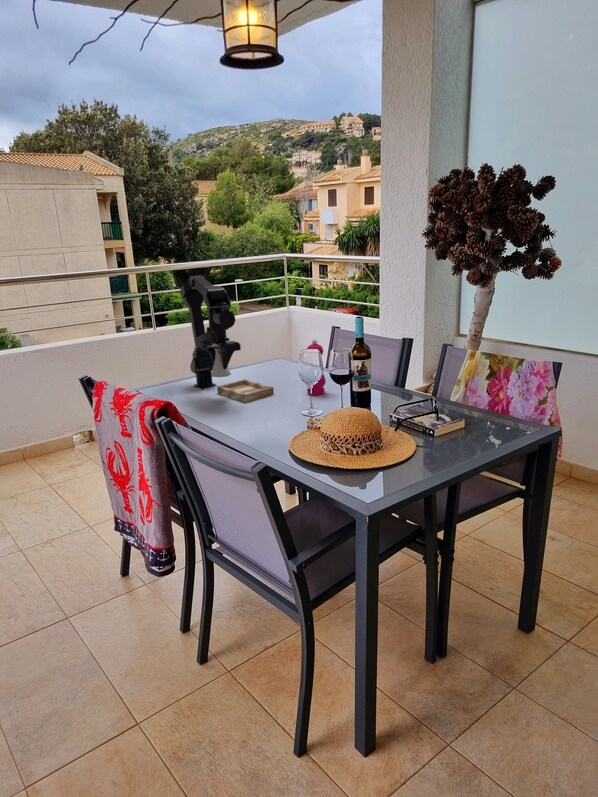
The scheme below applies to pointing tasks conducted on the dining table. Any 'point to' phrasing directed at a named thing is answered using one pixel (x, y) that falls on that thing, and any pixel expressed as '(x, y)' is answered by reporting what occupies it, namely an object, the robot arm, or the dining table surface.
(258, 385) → the serving tray
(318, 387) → the pepper mill
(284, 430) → the dining table surface
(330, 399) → the dining table surface
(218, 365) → the flask
